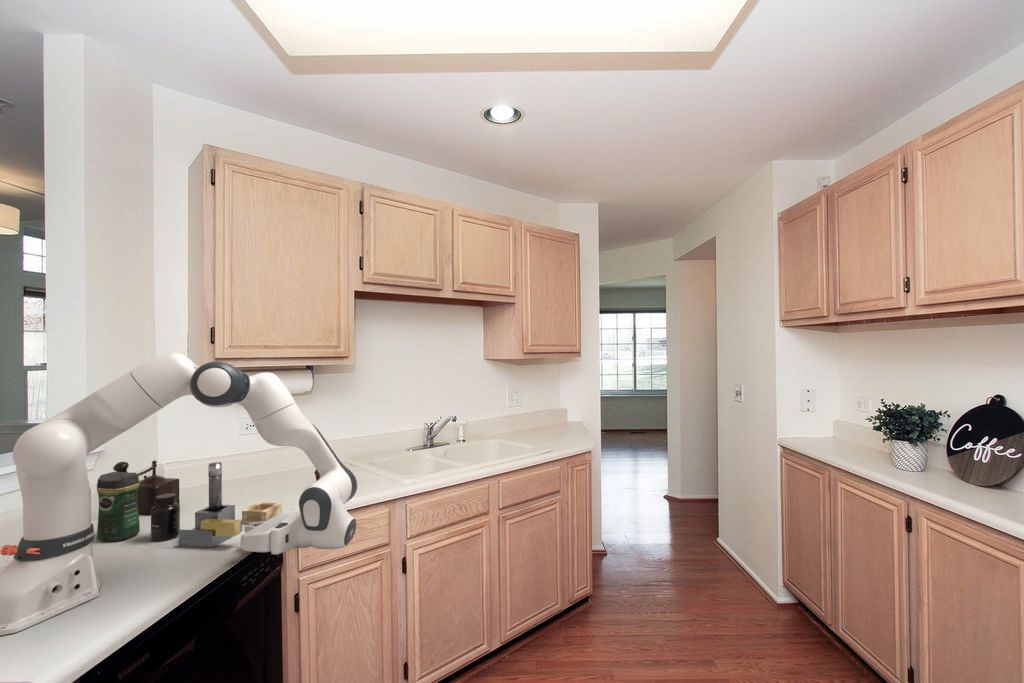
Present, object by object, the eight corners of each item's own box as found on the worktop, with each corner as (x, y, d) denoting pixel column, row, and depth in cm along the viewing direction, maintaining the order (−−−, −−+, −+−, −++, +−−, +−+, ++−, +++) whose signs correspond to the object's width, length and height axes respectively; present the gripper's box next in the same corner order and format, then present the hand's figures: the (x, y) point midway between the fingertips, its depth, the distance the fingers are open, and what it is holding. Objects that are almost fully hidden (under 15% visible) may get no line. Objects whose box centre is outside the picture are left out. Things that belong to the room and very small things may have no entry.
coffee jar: (145, 532, 144) (145, 469, 144) (119, 543, 136) (118, 476, 136) (118, 530, 146) (118, 468, 146) (90, 541, 138) (90, 475, 138)
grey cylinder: (216, 528, 139) (216, 465, 139) (205, 528, 139) (205, 464, 139) (224, 524, 142) (224, 462, 142) (214, 523, 142) (214, 461, 142)
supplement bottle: (146, 543, 136) (146, 500, 136) (157, 534, 143) (156, 493, 143) (174, 540, 138) (174, 498, 138) (183, 531, 144) (183, 491, 144)
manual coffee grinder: (151, 504, 170) (151, 452, 170) (180, 505, 168) (180, 453, 168) (109, 520, 154) (109, 463, 154) (141, 521, 153) (141, 464, 153)
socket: (212, 548, 132) (212, 518, 132) (178, 546, 134) (178, 517, 134) (242, 531, 144) (241, 504, 144) (211, 529, 146) (210, 503, 146)
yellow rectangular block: (234, 536, 132) (234, 523, 132) (200, 534, 134) (200, 521, 134) (240, 532, 135) (240, 519, 135) (207, 531, 136) (207, 518, 136)
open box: (266, 524, 149) (266, 511, 149) (242, 523, 150) (241, 510, 150) (281, 515, 157) (281, 503, 157) (258, 514, 158) (258, 502, 158)
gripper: (315, 505, 142) (271, 503, 143) (272, 532, 121) (221, 529, 123) (315, 527, 142) (271, 525, 143) (272, 557, 121) (221, 554, 123)
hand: (248, 527), depth 133 cm, fingers closed
